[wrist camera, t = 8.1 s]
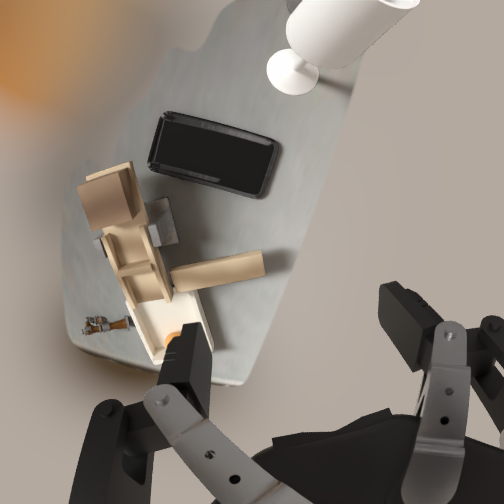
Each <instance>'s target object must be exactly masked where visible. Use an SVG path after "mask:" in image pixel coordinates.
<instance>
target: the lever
mask: <svg viewBox="0 0 504 504" xmlns="http://www.w3.org/2000/svg"><path fill="white" fill-rule="evenodd" d="M86 180H87V182H85V183H83V184H82V185H80V186H78V187H77V189H78V192H79V195H80V198H81V201H82V204H83V207H84V210H85V213H86V216H87V219H88V222H89V225H90V227H91V230H92V231H95V230H99V229H103V232H104V235H103V236H102V237H101V240H102V242H103V245H104V247H105V250H106V252H107V255H108V257H109V260H110V262H111V265H112V267H113V270H114V272H115V274H116V277H117V279H118V281H119V283H120V286H121V288H122V290H123V292H124V294H125V297H126V299H127V301H128V303H129V305H130V307H131V309H136V307H137V304H138V303H142V302H148V301H154V300H160V299H165V301H166V303H171V302H172V298H173V295H174V291H173V289H172V286H171V283H170V280H169V278H168V275H167V272H166V269H165V267H164V264H163V261H162V258H161V255H160V252H159V249H158V247H154V246H153V242H152V239H151V236H150V232H149V229H148V226H149V225H150V222H149V219H148V216H147V212H146V209H145V206H144V202H143V199H142V196H141V192H140V189H139V185H138V182H137V178H136V174H135V171H134V167H133V163H132V161H129V162H126V163H123V164H120V165H117V166H114V167H111V168H108V169H105V170H102V171H99V172H97V173H94V174H91V175H89V176H87V177H86ZM170 275H171V278H172V281H173V283H174V286H175V289H176V292H177V293H179V292H185V291H190V290H195V289H200V288H206V287H211V286H216V285H221V284H226V283H232V282H237V281H242V280H247V279H252V278H256V277H261V276H266V275H265V270H264V264H263V259H262V253H261V250H257V251H252V252H247V253H242V254H237V255H232V256H227V257H222V258H217V259H213V260H208V261H203V262H198V263H193V264H188V265H183V266H178V267H173V268H171V269H170Z"/></svg>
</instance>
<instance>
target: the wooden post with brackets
mask: <svg viewBox="0 0 504 504" xmlns="http://www.w3.org/2000/svg"><path fill="white" fill-rule="evenodd" d="M105 320H106V319H105V318H102V317H97V318H96V316H95V319H94V320H93V319H92V321H91V322H92V323H93V324H94V323H96V325H97V324H99V323H102V325H100V324H99V326H93V325H91V324H90V322H89V318H88V317H86V320H85V323H86V327H83V330H81V331H80V332H81V334H85V335H91V334H92V333H96V332H100V333H102V331H103V332H106V331H111V330H112V329H122V328H127V329H128V331H130V327H129V322H128V318H127V316H125V318H124V319H122V320H120V321H117V322H114V323H105V324H103V321H105Z"/></svg>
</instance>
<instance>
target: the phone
mask: <svg viewBox="0 0 504 504" xmlns="http://www.w3.org/2000/svg"><path fill="white" fill-rule="evenodd" d="M278 149H279V147H278V144H277V142H276V141H275V140H273V139H271V138H268V137H265V136H262V135H259V134H255V133H252V132H249V131H246V130H242V129H239V128H235V127H232V126H228V125H225V124H221V123H217V122H214V121H210V120H206V119H202V118H198V117H194V116H190V115H185V114H181V113H176V112H172V111H167V112H165V113H163V114H162V115H161V116H160V119H159V122H158V125H157V129H156V132H155V135H154V139H153V143H152V146H151V150H150V154H149V157H148V162H147V164H148V167H149V169H150V170H151V171H153V172H157V173H161V174H164V175H169V176H172V177H175V178H179V179H183V180H188V181H192V182H196V183H199V184H203V185H207V186H210V187H214V188H218V189H221V190H225V191H228V192H232V193H235V194H239V195H242V196H245V197H249V198H252V199H258V198H260V197H262V196H263V194H264V192H265V189H266V186H267V183H268V180H269V177H270V174H271V171H272V168H273V165H274V162H275V159H276V156H277V153H278Z"/></svg>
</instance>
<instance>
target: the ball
mask: <svg viewBox="0 0 504 504" xmlns="http://www.w3.org/2000/svg"><path fill="white" fill-rule="evenodd" d="M180 334H181V333H179V332H172V333H170V334H169V335H168V336H167V337H166V339H165V347H166V348H167V345H168V343H169V342H170V341H171V340H172V338H173V337H175V336H180Z"/></svg>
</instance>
